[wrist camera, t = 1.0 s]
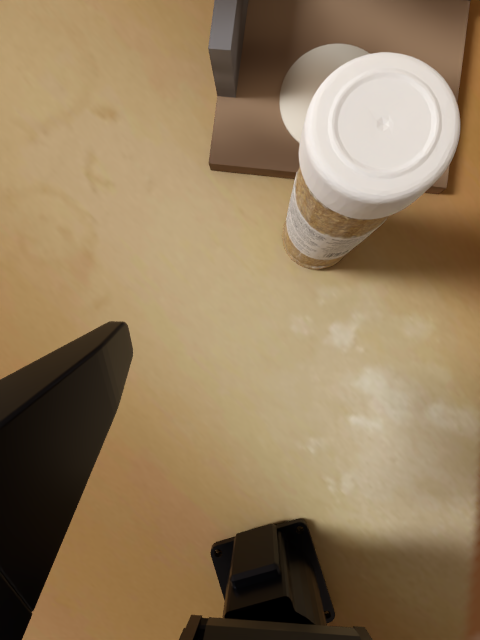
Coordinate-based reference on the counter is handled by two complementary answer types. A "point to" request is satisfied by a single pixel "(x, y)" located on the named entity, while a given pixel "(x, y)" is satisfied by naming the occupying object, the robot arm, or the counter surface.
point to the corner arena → (310, 66)
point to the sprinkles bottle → (367, 153)
